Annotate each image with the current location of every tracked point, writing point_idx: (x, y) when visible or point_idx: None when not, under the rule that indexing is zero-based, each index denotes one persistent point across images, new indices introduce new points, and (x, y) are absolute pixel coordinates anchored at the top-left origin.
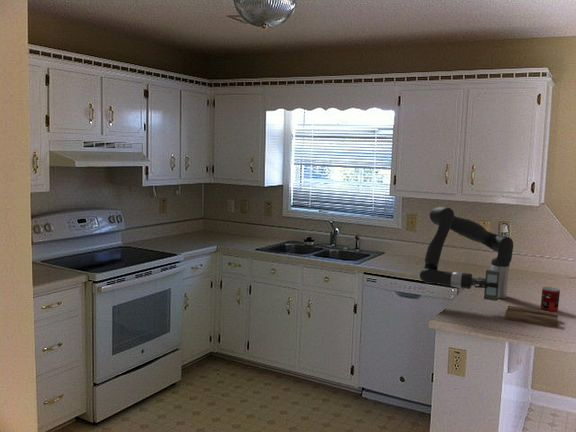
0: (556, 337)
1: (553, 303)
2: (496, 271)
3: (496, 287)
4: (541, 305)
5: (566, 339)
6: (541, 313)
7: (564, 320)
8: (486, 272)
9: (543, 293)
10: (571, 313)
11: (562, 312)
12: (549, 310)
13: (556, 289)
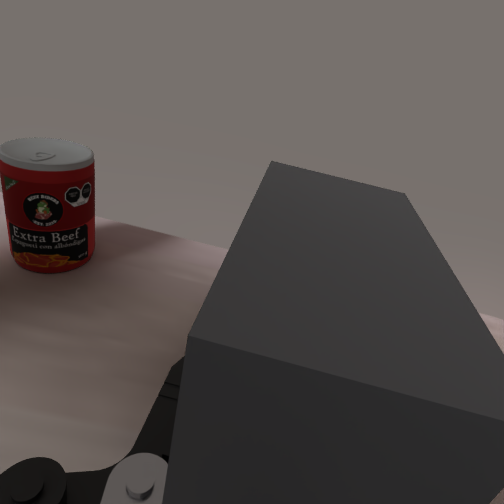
0: (498, 344)
1: (94, 217)
2: (338, 197)
3: None
4: (46, 256)
5: (489, 323)
6: None
7: (223, 260)
8: (489, 461)
9: (51, 192)
10: (107, 219)
11: (95, 233)
12: (90, 256)
13: (53, 145)
